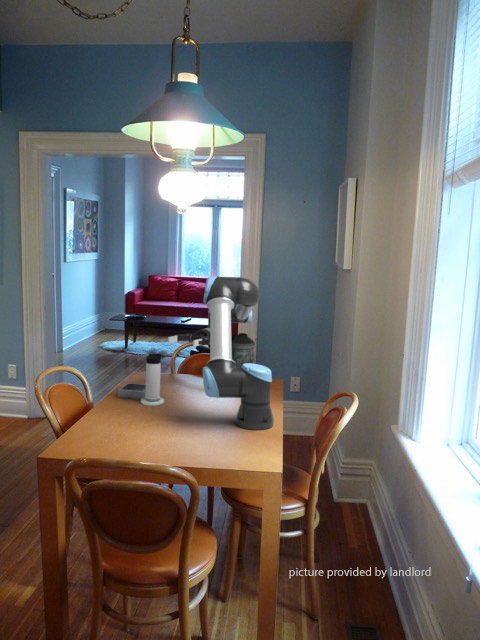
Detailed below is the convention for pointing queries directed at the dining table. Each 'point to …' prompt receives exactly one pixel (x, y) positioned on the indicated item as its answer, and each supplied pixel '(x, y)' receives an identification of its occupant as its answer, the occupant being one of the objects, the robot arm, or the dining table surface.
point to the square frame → (132, 391)
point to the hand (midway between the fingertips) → (180, 341)
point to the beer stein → (242, 350)
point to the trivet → (152, 402)
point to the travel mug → (153, 377)
